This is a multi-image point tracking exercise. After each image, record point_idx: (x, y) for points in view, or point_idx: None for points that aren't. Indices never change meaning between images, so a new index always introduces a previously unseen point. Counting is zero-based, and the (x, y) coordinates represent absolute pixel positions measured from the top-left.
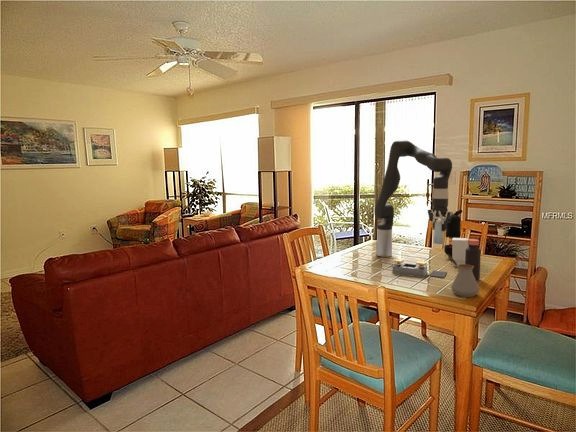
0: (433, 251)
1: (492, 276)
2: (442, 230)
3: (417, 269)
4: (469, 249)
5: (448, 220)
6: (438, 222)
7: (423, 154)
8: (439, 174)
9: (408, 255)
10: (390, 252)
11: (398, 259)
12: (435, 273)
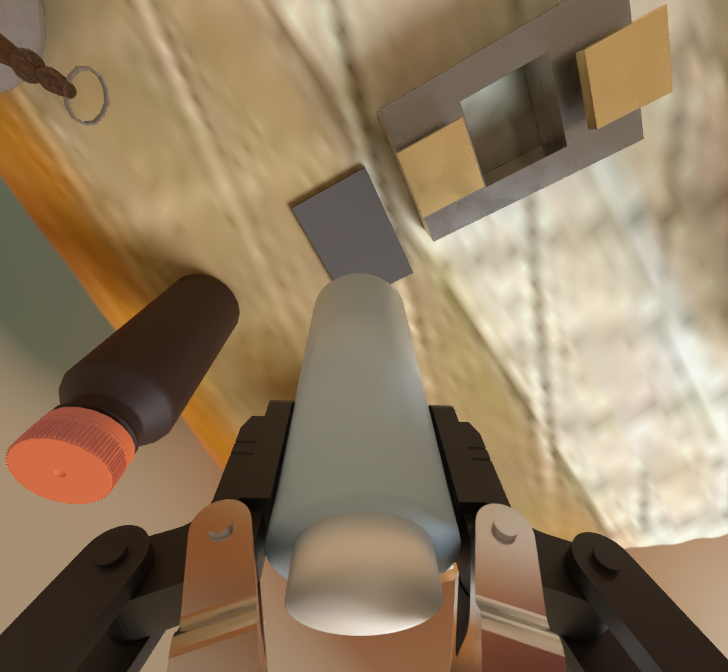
0: (582, 523)
1: (194, 402)
2: (271, 401)
3: (421, 85)
4: (99, 374)
5: (118, 641)
6: (335, 509)
7: None
8: None
9: (659, 415)
10: None
11: (635, 85)
12: (367, 232)
